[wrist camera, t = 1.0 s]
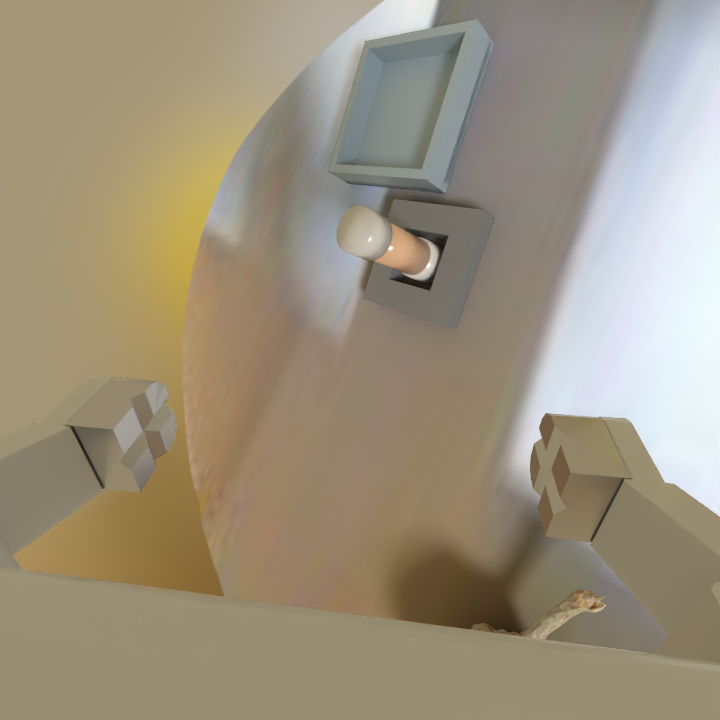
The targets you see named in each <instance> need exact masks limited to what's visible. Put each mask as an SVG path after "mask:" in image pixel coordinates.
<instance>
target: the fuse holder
mask: <svg viewBox="0 0 720 720" xmlns="http://www.w3.org/2000/svg"><path fill="white" fill-rule="evenodd" d="M387 219H388V220H389V221H390V223H392V224H394V225H396V226H398V227H400V228H402V229H404V230H405V231H407V232H409V233H411V234H413V235H415V236H417V234H418V235H423V236H429V237H434V238H440V239H445V240H447V242H446V245H445V248H444V251H443V254H442V257H441V260H440V263H439V266H438V269H437V272H436V275H435V278H434V281H433V284H432V287H431V290H430V291H429V290H425V289H422V288H418V287H415V286H411V285H408V284H404V283H402V280H403V277H404V274H403V273H402V272H400V271H398V270H395V269H393V268H390V267H388V266H385V265H383V264H380V263H378V262H375V261H374V263H373V267H372V270H371V273H370V276H369V280H368V283H367V286H366V289H365V292H364V296H363V298H364V299H367V300H370V301H373V302H376V303H379V304H382V305H385V306H388V307H391V308H394V309H397V310H400V311H403V312H405V313H408V314H411V315H414V316H417V317H420V318H423V319H426V320H429V321H432V322H435V323H438V324H441V325H444V326H448V327H451V328H455V329H456V327H457V324H458V321H459V318H460V315H461V313H462V310H463V307H464V304H465V301H466V298H467V295H468V292H469V290H470V287H471V284H472V281H473V278H474V275H475V272H476V270H477V267H478V264H479V261H480V258H481V255H482V252H483V249H484V247H485V244H486V241H487V238H488V235H489V232H490V229H491V227H492V224H493V221H494V217H492V216H491V215H490V214H488V213H487V212H486V211H485V210H481V209H472V208H464V207H456V206H448V205H439V204H431V203H423V202H415V201H407V200H398V199H393V202H392V206H391V209H390V212H389V215H388V218H387Z"/></svg>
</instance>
